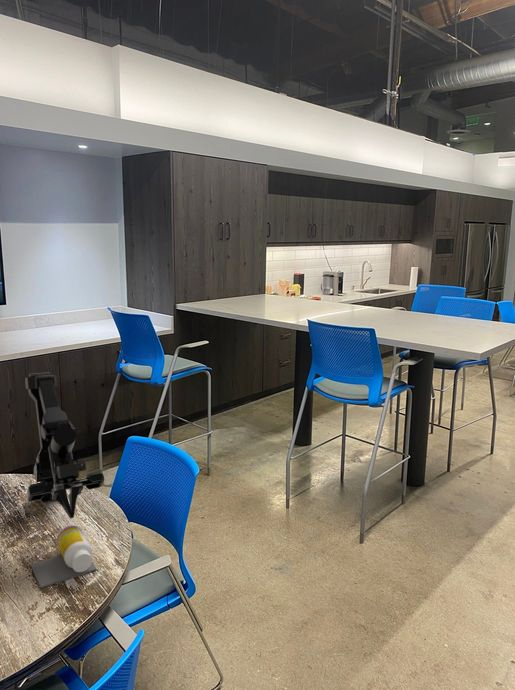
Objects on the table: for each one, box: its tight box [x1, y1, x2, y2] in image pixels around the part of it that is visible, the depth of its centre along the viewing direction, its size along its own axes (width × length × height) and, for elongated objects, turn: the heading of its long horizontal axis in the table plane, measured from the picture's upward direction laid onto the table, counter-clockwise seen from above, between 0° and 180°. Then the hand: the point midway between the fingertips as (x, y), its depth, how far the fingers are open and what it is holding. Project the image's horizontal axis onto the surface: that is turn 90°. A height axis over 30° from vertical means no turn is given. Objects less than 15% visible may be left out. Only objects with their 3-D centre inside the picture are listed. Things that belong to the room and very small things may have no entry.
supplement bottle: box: [56, 524, 93, 572], centre depth 130 cm, size 7×7×13 cm
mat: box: [30, 554, 98, 589], centre depth 129 cm, size 10×13×1 cm
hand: (72, 517), depth 135 cm, fingers closed
